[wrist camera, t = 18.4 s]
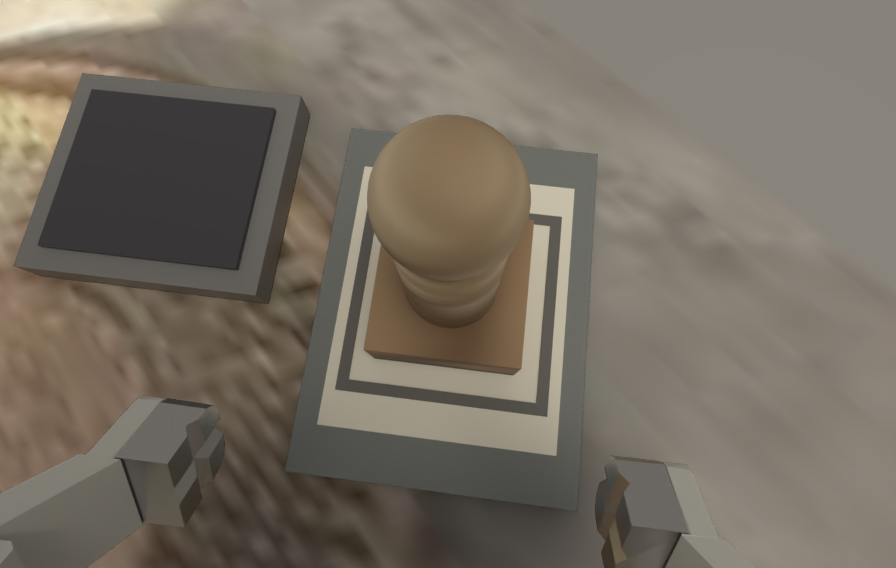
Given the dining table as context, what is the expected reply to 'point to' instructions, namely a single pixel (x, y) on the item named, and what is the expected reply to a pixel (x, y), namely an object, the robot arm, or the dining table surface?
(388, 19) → the dining table surface
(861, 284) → the dining table surface
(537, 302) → the document board
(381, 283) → the hand stamp
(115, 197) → the ink pad
